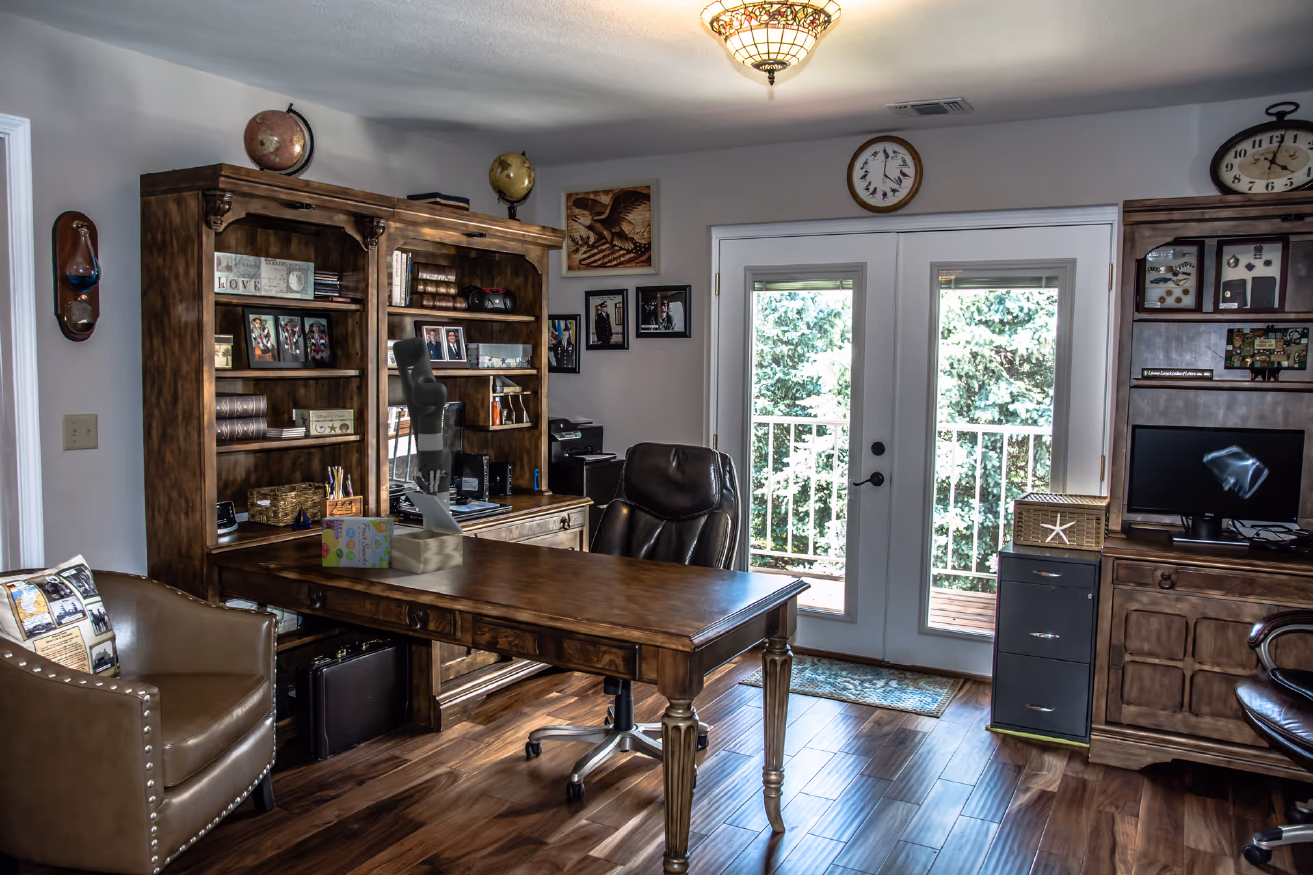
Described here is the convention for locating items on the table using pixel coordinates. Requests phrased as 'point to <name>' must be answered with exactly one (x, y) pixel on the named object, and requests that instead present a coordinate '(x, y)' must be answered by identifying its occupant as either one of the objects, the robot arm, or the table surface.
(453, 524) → the lid
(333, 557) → the snack box
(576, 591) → the table surface
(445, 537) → the wooden box
